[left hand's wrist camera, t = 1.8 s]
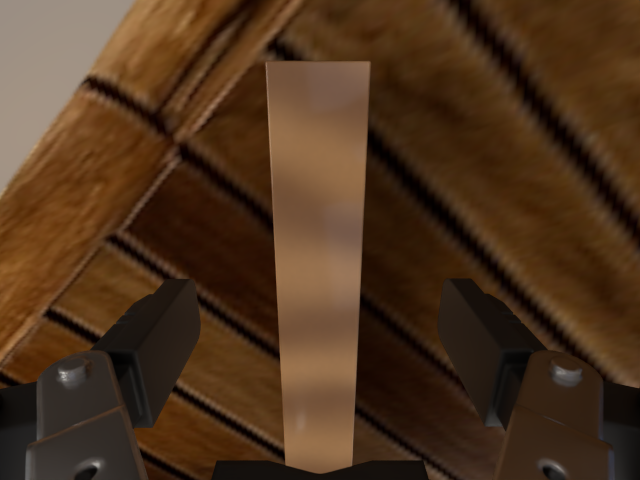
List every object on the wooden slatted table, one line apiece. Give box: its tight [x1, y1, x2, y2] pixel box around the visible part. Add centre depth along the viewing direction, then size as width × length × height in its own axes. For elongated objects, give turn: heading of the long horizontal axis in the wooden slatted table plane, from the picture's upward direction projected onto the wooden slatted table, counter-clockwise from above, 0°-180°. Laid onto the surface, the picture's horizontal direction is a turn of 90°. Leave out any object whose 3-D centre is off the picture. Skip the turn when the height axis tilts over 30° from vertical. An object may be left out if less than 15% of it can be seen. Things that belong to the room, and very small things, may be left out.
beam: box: [265, 61, 371, 474], centre depth 27 cm, size 51×4×6 cm, turn 0°
